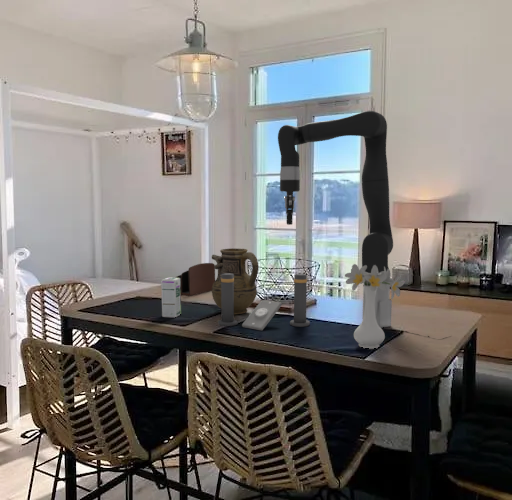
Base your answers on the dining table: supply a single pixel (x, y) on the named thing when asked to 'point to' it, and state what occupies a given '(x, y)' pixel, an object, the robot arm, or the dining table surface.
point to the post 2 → (300, 301)
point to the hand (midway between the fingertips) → (289, 224)
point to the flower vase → (371, 302)
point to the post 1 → (227, 300)
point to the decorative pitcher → (236, 277)
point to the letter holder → (197, 279)
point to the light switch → (261, 315)
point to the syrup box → (171, 297)
